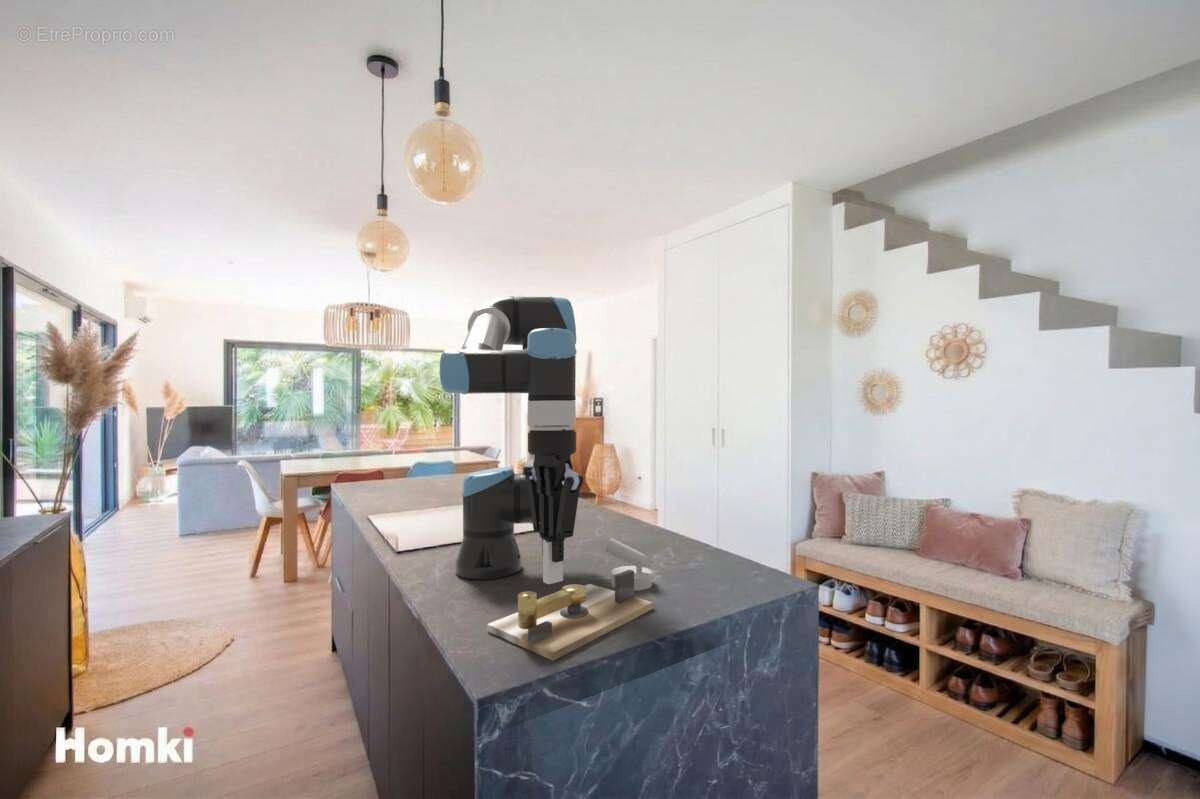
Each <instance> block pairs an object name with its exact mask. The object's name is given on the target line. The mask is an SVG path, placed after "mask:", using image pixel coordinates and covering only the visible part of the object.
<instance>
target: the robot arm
mask: <svg viewBox="0 0 1200 799" xmlns="http://www.w3.org/2000/svg"><path fill="white" fill-rule="evenodd" d="M576 331H577V327H576V319H575V313H574V308H573V305H572V303H571V301H570V299H567V298H566V297H555V296H552V295H551V296H514V295H513V296H511V295H509V296H501V297H497V298H495V299H491V300H489V301H487V302H485V303H484V304H481V305H480V306H478V307H477V308H476V309H475V310H474V311H473V312H472V314H471V315H470V316H469V319H468V322H467V332H468V333H467V335H466V337H465V339H464V342H463V344H462V346H461V348H454V349H446V350H443V352H441V355H440V359H439V378H440V379H439V380H440V385H441V388H442V390H443V391H444V392H445V393H448V394H461V395H467V394H469V395H470V394H471V395H473V394H474V395H475V394H480V395H481V394H528V395H527V426H528V428H529V429H528V432H527V452H528V454H529V456H528V460H527V461H526V462H525V463H524V464H523V465H522V472H521V473H515V470H514V467H511V466H506V467H505V466H503V467H494V468H489V469H483V470H478V471H475V472H471V473H468V474H467V475H466V476H465V477H464V479H463V483H462V484H463V486H462V494H461V497H462V540H461V543H460V546H459V550H458V554H457V558H456V560H455V563H454V564H455V571H454V572H455V574H456V575H457V576H458V577H461V578H465V579H468V580H469V579H470V580H494V579H500V578H505V577H509V576H512V575H515V574H517V573H519V572H520V571H521V570H522V568H523V566H522V555H521V554H520V550H519V545H518V543H517V540H516V537H515V526H514V525H516V524H532V528H533V529H532V530H533V532H535V533H538V534H539V537H540V539H541V543H542V544H541V546H542V553H541V555H542V576H543V577H542V582H543V583H545V584H547V585H551V584H556V583H560V582H562V581H564V559H565V552H564V551H565V548H564V547H565V546H564V544H565V543H564V542H565V539H568V538H572V537H573V536H574V533H575V532H574V530H575V523H576V518H577V512H578V511H577V510H578V509H577V508H578V502H579V495H580V491H581V488H582V486H583V484H584V478H583V475H579V474H578V472H576V471H573V469H574V468H573V466H574V465H573V463H572V459H571V458H572V457H571V456H572V455H573V454H575V453H576V452H577V431H575V429H572V428H573V427H575V426H576V424H577V420H576V419H577V418H576V417H577V415H576V414H577V413H576V411H577V410H576V408H577V407H576V400H577V397H576V373H577V372H576V371H577V370H576V368H577V367H576V364H577V362H576V358H577V355H576V354H577V351H578V350H577V348H576V344H577V332H576ZM504 345H512V346H513V345H514V346H522V349H503V348H504Z"/></svg>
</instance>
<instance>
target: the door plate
mask: <svg viewBox="0 0 1200 799" xmlns="http://www.w3.org/2000/svg"><path fill="white" fill-rule="evenodd" d="M584 586H585V587H586V601H585V602H584V603H581V604H571V605H569V606H567V607H565V608H562V609H560V610H558V611H555V612H553V613H550V614H548V615H546V616H543V617H541V618H539V619H537V625H536V626H534V627H532V628H529V629H521V628H519V627H518V611H517V612H515V613H512V614H510V615H506V616H504V617H502V618H500V619H496V620H494V621H491V622H489V623H487V624H486V625H487V626H486V628H487V629H486V631H487V632H488V633H491V634H492V635H495V636H497V637H500V638H501V639H504V640H506V641H508V642H510V643H512V644H515V645H517V646H519V647H521V648H524V649H527V650H529V651H531V652H532V653H535V654H537V655H539V656H542V657H544V658H546V659H548V660H551V661H556V660H557V659H559V658H561V657H563V656H566V655H568V654H569V653H571V652H573V651H575V650H576V649H579V648H580V647H582V645H583V646H584V645H587V644H588V643H590V642H593V641H594V640H596V639H598V638H599V637H600V638H601V636H603V635H605V634H607V633H609V632H611V631H613V630H615V629H617V628H619V627H621V626H623V625H625V624H627V623H629V622H631V621H632V620H634V619H636V618H638V617H640V616H642V615H643V614H646V613H648V612H650V611H651V610H653V609H654V602H653V601H649V600H646V599H642V598H640V597H636V596H635V591H634V571H633V570H627V571H624V572H622V573H619V574H617V575H615V587H614V590H611V589H610V588H609V589H608V588H605V587H603V586H598V585H595V584H591V583H587V584H585V585H584Z"/></svg>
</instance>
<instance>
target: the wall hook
mask: <svg viewBox="0 0 1200 799" xmlns="http://www.w3.org/2000/svg"><path fill="white" fill-rule="evenodd" d="M605 552H606V553H608V554H610V555H613V556H614V557H616V558H618V559H621V560H622V561H624V562H627V563H628V564H630V565H624V566H618V567H615V568H613V569H612V571H611V585H612V587H613V588H615V575H617V574H619V573H622V572H624V571H627V570H633V571H634V592H636V591H637V592H638V591H644V590H647V589H650V588H651V587H652V585H653V572H652V570H650V568H647V567H645V566H646V564H647V562H648V558H647V555H645V554H644V553H642V552H640V551H638V550H636V549H635V548H632V547H631V546H628V545H627V544H624V543H623V542H620V541H619V540H616V539H614V538H612V537H610V539H609V541H608V543H607V545H606V546H605Z"/></svg>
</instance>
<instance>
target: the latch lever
mask: <svg viewBox="0 0 1200 799" xmlns="http://www.w3.org/2000/svg"><path fill="white" fill-rule="evenodd" d="M517 594H518V595H517V601H518V602H517V612H518V627H519V628H521V629H529V628H532V627H534V626H536V625H537V619H539V618H541V617H543V616H546V615H548V614H550V613H553V612H555V611H558V610H560V609H562V608H565V607H567V606H569V605H571V604H581V603H584V602H585V601H586V587H585V585H582V584H579V583H578V584H577V583H576V584H575V583H574V584H567V585H563V587H561V590H558V591H556V592H553V593H550V594H548V595H545V596H542V597H540V598H537V595H538V594H537V592H535V591H531V590H530V591H529V590H527V591H525V590H524V591H521V592H519V593H517Z"/></svg>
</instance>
